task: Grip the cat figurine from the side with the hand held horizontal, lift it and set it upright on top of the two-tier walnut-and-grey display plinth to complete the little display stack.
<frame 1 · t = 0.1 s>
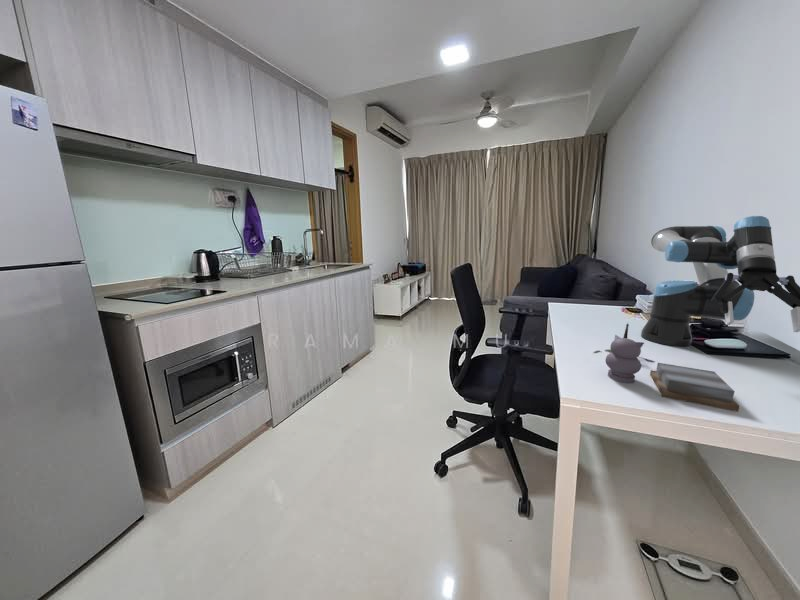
hand: (763, 327, 86), 15 cm above the table, fingers open, 13 cm apart
display plinth: (688, 391, 81), on the table
eiffel tower figurine: (622, 359, 104), on the table
cat figurine: (620, 378, 89), on the table
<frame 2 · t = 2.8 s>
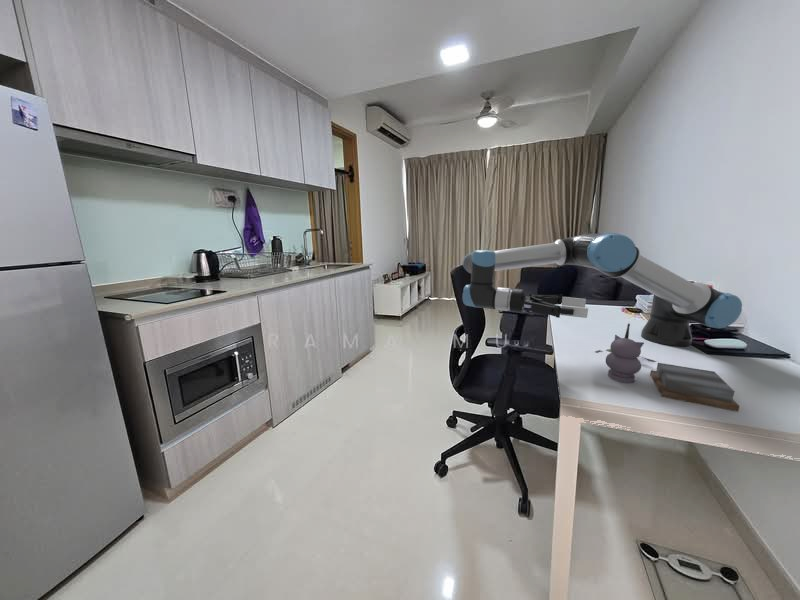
hand: (586, 307, 89), 20 cm above the table, fingers open, 13 cm apart
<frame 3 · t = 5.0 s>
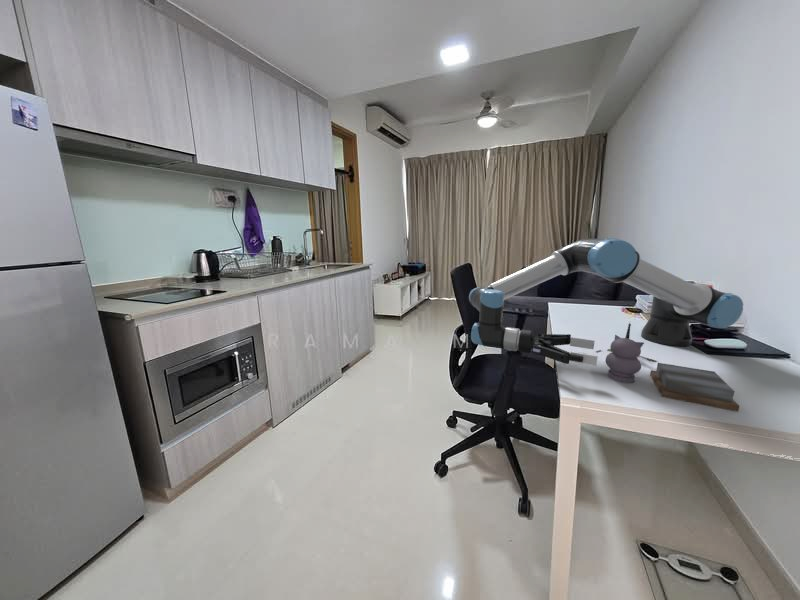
hand: (595, 352, 90), 7 cm above the table, fingers open, 13 cm apart
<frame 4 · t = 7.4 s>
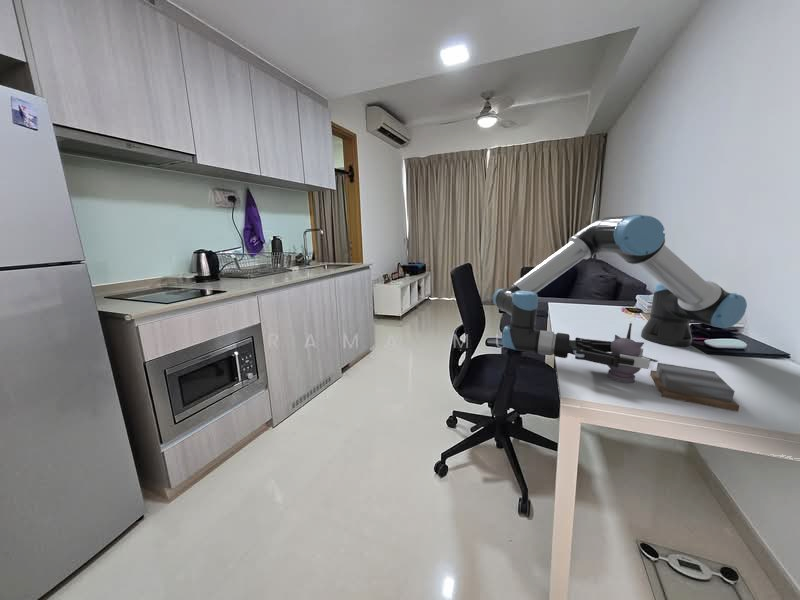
hand: (645, 358, 85), 7 cm above the table, fingers closed on cat figurine, 8 cm apart
cat figurine: (620, 378, 89), on the table, touching gripper
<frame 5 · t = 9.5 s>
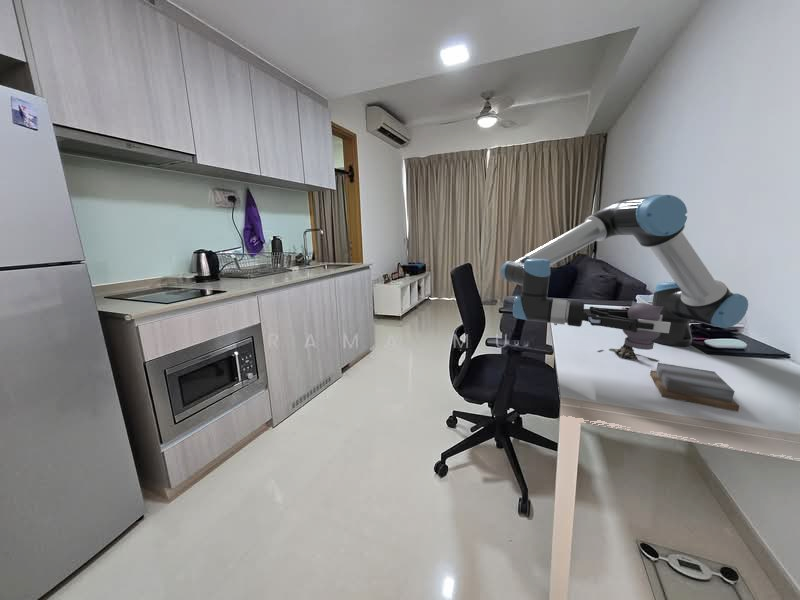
hand: (665, 323, 81), 18 cm above the table, fingers closed on cat figurine, 8 cm apart
cat figurine: (637, 345, 85), point 10 cm above the table, touching gripper
when the fingers open (13 cm above the table, at t = 11.9 s): cat figurine drops 1 cm, resting on display plinth.
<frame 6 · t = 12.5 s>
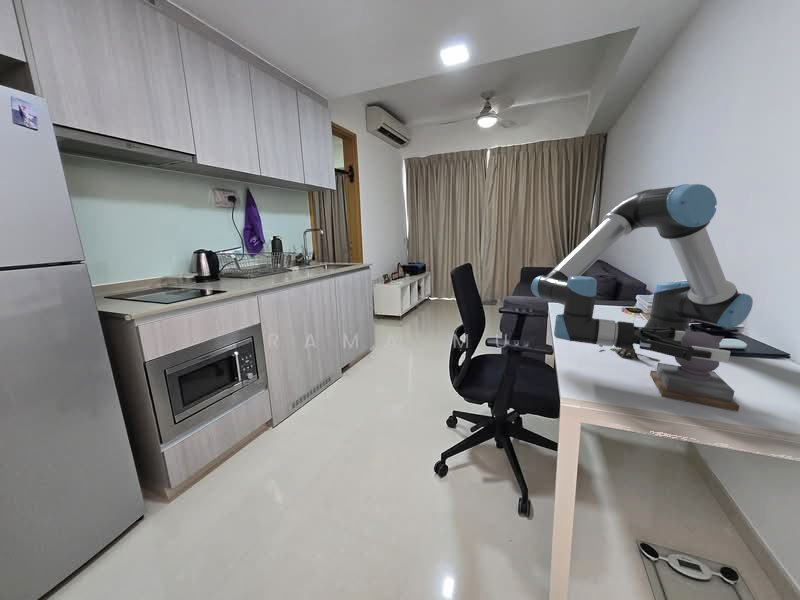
hand: (716, 347, 77), 13 cm above the table, fingers open, 13 cm apart
cat figurine: (692, 376, 80), point 4 cm above the table, touching display plinth
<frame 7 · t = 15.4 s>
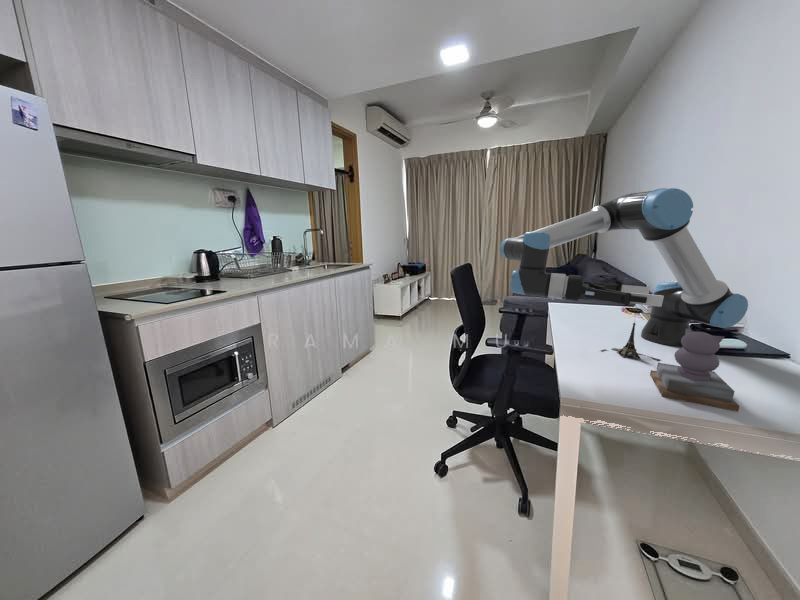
hand: (655, 296, 81), 25 cm above the table, fingers open, 13 cm apart
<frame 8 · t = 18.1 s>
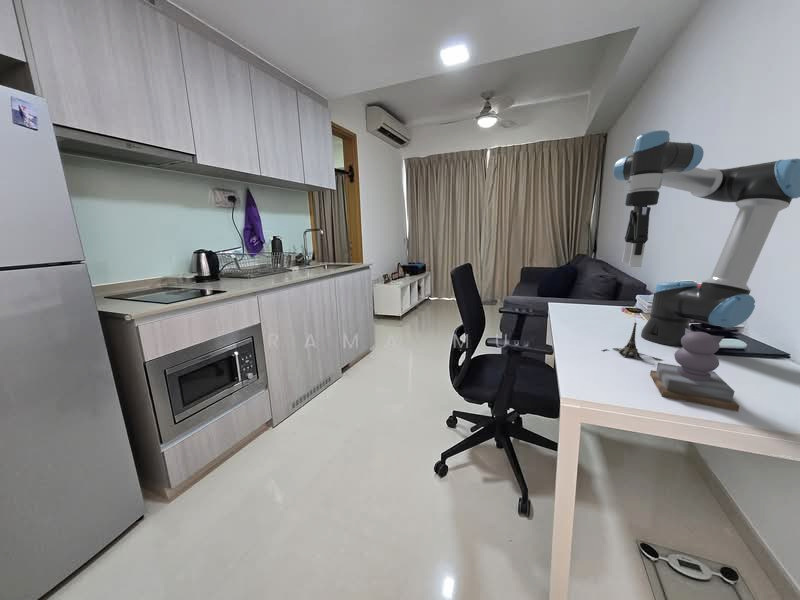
hand: (630, 264, 93), 32 cm above the table, fingers open, 13 cm apart
at the end: cat figurine inside the target area on the display plinth (0.1 cm from its centre), point 4.3 cm above the display plinth's base; cat figurine tilted 0°; the gripper is holding nothing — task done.
